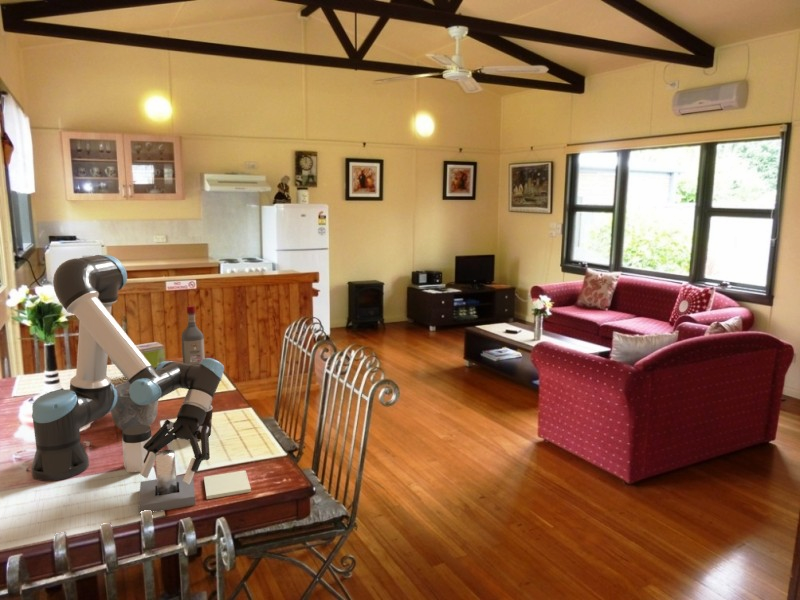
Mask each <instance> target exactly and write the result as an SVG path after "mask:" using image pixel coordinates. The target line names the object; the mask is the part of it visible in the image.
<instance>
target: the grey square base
mask: <svg viewBox="0 0 800 600" xmlns="http://www.w3.org/2000/svg"><path fill="white" fill-rule="evenodd" d="M184 476H185V474H183V475H176V481H177V493H171V494H165V495H159V496H158V495H157V494H156V493H158V490H157V478H156V479H150V480H145V481H144V480H143V481H140V484H139V485H140V486H139V500H138V501H139V502H138V514H139V513H140V512H141V511H144V510H151V511H152V513H156V512H155V511H157V512H162V511H161V510H163V511H169V510H174V509H180V508H186V507H192V506H196V491H195V482H194V476H193V477H192V480H191V482H190V485H188V484H186V483H185V482H183V478H184ZM178 491H179V492H178ZM153 511H154V512H153Z"/></svg>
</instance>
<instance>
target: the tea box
mask: <svg viewBox="0 0 800 600" xmlns="http://www.w3.org/2000/svg"><path fill="white" fill-rule="evenodd" d="M135 345H136V346H137V348H138V349H139V350H140V351H141V353H142V354H143V355H144V356H145V358H146V359H147V360H148V361H149V363H150V364H151V365H152V366H153V367H154V369H155V370H156V368H157V366H159V364H160V363H161V362H163V361H166V352H165V345H164V344H162V343H160V342H158V341H154V342H147V343H146V342H145V343H141V344H135Z"/></svg>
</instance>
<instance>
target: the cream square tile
mask: <svg viewBox="0 0 800 600" xmlns="http://www.w3.org/2000/svg"><path fill="white" fill-rule="evenodd" d="M203 482H204V488H205V489H204V491H205V496H206V500H211V499H216V498H222V497H229V496H235V495H241V494H246V493H251V492H252V488H251V485H250V481H249V477H248V474H247V471H246V470H244V469H243V470H239V471H231V472H226V473H220V474H212V475H207V476H203Z"/></svg>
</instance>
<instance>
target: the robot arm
mask: <svg viewBox="0 0 800 600" xmlns="http://www.w3.org/2000/svg"><path fill="white" fill-rule="evenodd" d="M127 281H128V273H127V270H126V268H125V265H124V264H123V263H122V262H121V261H120V260H119V259H118V258H117V257H115V256H113V255H110V254H109V255H108V254H96V255H95V254H94V255H92V256H85V257H77V258H76V257H75V258H71V259H68V260H65V261H64V262H62V263H61V264H60V265H59V266H58V267H57V268H56V270H55V272H54V275H53V279H52V284H53V290H54V293H55V295H56V297H57V300H58V302H59V303H60V304H61V305H62V308H64V309H65V311H66V312H67V314H74V316H75V317H76V318H77V320H78V321H79V327H78V341H77V357H76V372H75V373H76V374H75V375H74V376H73V377H71V378H70V381H69V382H70V383H69V389H59V390H55V391H50V392H46V393H45V394H42V395H40V396H38V398H36V399H35V400H34V401H33V404H32V413H31V418H32V421H33V423H32V424H33V433H34V439H35V441H34V442H35V453H34V457H33V461H32V464H31V476H32V478H33V479H35V480H38V481H45V482H46V481H47V482H51V481H61V480H64V479H69V478H73V477H74V476H77V475H79V474H81V473H83V472H85V471H86V470H87V469H89V466H90V461H89V456H88V453H87V452H86V450H85V447H84V446H83V444H82V441H81V433H80V430H81V428H83V427H85V426H87V425H89V424H91V423H92V422H94V421H97V420H98V419H102V418H104V417H105V416H106V415H108V414H109V413H110V412H111V411H112V410H113V408H114V407H115V405H116V402H117V391H116V389H114V386H115V385H114V384H113V383H112V379H111V378H110V376H108V375H107V373H108V372H107V370H108V358H109V360H111V362H112V363H113V364H114V366H115V367H116V368H117V369H118V370H119V371H120V374H122V375H123V376H124V378H125V380H127V381H128V382H129V383H130V384H131V385H130V387H129V394H130V398H131V399H132V401H133V402H135V403H136V404H138V405H147V404H150V403H152V402H155V401H157V400H158V401H159V400H160V399H161V398H163V397H165V396H166V395H168V394H170V393H172V392H174V391H177V390H178V389H186V390H187V392H186V393H185V394H186V395H185V397H184V399H183V401H182V403H183V404H182V405H181V406H180V408H179V411H178V413H177V415H176V416H177V417H176V420H175V421H174V422H173V421H170V420H169V419H165V421H164V423H163V424H162V426H161V427H159V429H158V430H157V431H156V432H155V433H154V434H153V435H151V436H152V437H151V439H150V440H149V441H148V442H147V443H146V444H145V445H144V446H143V448H144V449H146V450H147V451H148V452H147V455H146V457H145V459H144V463H145V464H144V466H143V468H142V471H141V472H139V475H140V476H142V477H144V478H147V479H148V477H149V475H150V472H151V471H152V468H153V467H154V466H153V464H154V465H155V463H156V461H155V454H156V453H157V452H159V451H162V449H163V448H165V447H167V445H169V444H171V443H172V442H173V441H176V440H177V439H179V440H185V441H189V443H190V446H191V449H192V452H193V455H194V456H193V457H191V459H190V462H189V464H188V467H187V469H186V470H185V471H186V472H185V474H184V475H185V476H184V478H183V482H185V483H186V484H188V485H190V482H191V480H192V477H193V478H194V475H195V473H197V472H198V471H199V468H200V466H201V463H202V462H203V461H209V460H210V458H211V457H210V455H211V454H210V440H209V438H210V437H208V435H209V432H210V428H209V427H208V426H207V425H203V426H201V425H202V424H203V422H204V419H205V417H206V412H207V411H208V409H209V407H210V405H212V402H213V399H214V396H215V394H216V391H217V389H218V386H219V385H220V382H221V381H222V378H223V374H224V371H225V366H224V364H223V363H221V362H220V361H218V360H217V359H215V358H211V357H206V358H204V359H202V360H201V362H200V363H199V365H192V364H185V363H183V362H178V361H174V360H172V361H170V360H169V361H168V360H165V361H163V362H161V363H160V364H159V366H157V368H156V370H155V369H154V367H153V366H152V365H151V364H150V363H149V361H148V360H147V359H146V358H145V356H144V355H143V354H142V353H141V351H140V350H139V349H138V348H137V346H136V345H137V344H135V343H134V342H133V340H132V338H130V336H129V335H128V334H127V333H126V331H125V330H124V329H123V328H122V326H121V325H120V324H119V322H118V321H117V320H116V319H115V317H114V316H113V315H112V307H113V306H112V305H114V304H115V303H116V302H118V297H119V291H120V290H122V289H123V288H124V287H125V286H126V284H127ZM199 431H200V433H201V440H200V445H199V442H198V441H199V440H197V437H196V434H197V433H198V432H199ZM200 446H201V447H200ZM152 466H153V467H152Z"/></svg>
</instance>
